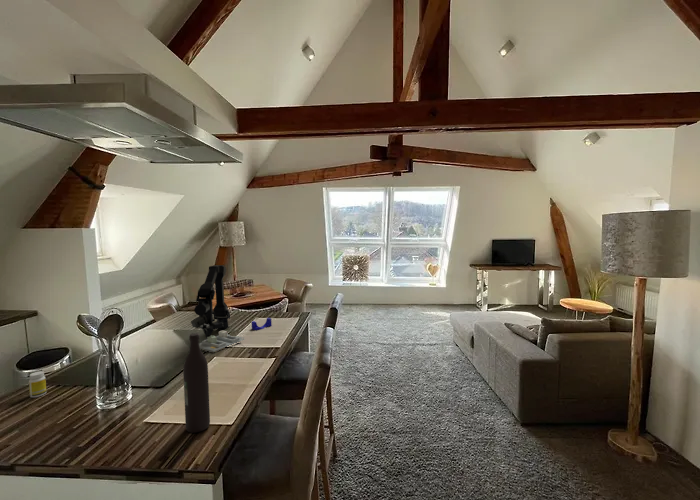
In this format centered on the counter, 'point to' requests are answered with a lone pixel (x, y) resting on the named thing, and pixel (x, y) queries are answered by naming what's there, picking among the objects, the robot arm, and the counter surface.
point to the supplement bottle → (37, 384)
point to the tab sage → (212, 339)
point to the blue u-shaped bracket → (255, 327)
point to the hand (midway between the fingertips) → (207, 339)
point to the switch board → (219, 343)
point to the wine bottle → (196, 388)
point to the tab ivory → (223, 334)
